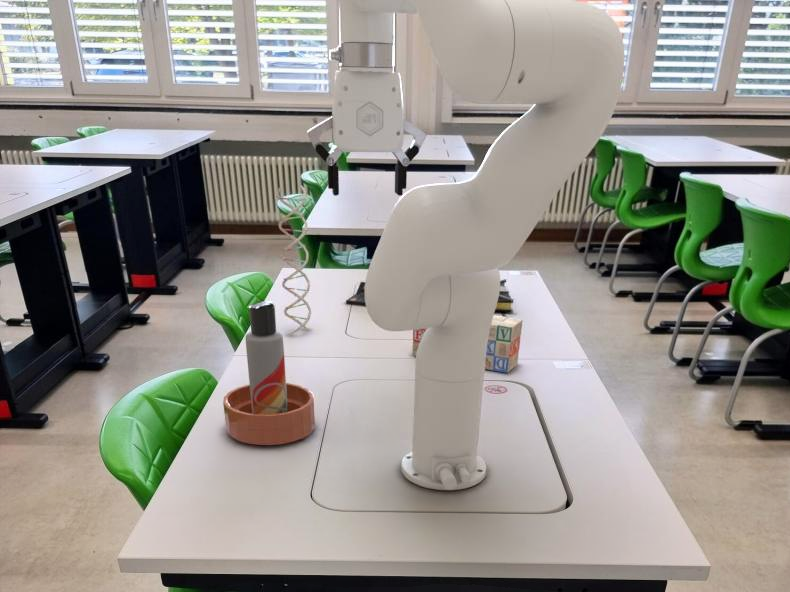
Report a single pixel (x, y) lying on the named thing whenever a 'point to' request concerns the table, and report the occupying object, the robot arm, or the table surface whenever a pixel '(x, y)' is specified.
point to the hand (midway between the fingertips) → (367, 194)
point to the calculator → (358, 296)
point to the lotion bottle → (266, 361)
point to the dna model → (297, 260)
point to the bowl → (269, 417)
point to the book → (504, 299)
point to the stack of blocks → (494, 343)
